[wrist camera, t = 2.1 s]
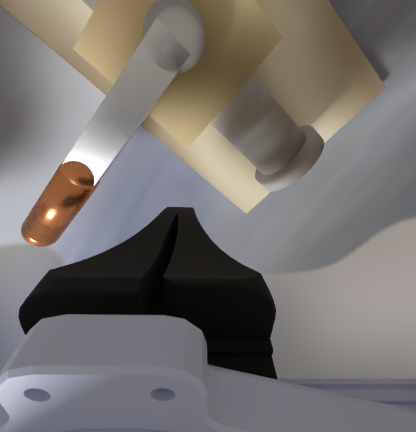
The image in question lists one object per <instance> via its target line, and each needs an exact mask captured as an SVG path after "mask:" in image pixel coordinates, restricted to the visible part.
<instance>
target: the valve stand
mask: <svg viewBox="0 0 416 432" xmlns="http://www.w3.org/2000/svg"><path fill="white" fill-rule="evenodd" d="M156 1H158V0H0V5H1V6H2V7H3V8H4V9H5V10H6V11H8V12H9V13H10V14H11V15H12V16H14V17H15V18H16V19H17V20H18V21H19V22H21V23H22V24H23V25H24V26H25V27H27V28H28V29H29V30H30V31H31V32H32V33H34V34H35V35H36V36H37V37H38V38H40V39H41V40H42V41H43V42H44V43H45V44H47V45H48V46H49V47H50V48H51V49H52V50H54V51H55V52H56V53H57V54H58V55H60V56H61V57H62V58H63V59H64V60H65V61H67V62H68V63H69V64H70V65H71V66H73V67H74V68H75V69H76V70H77V71H78V72H80V73H81V74H82V75H83V76H84V77H86V78H87V79H88V80H89V81H90V82H91V83H93V84H94V85H95V86H96V87H97V88H98V89H100V90H101V91H102V92H103V93H104V94H106V95H107V94H108V92H109V91H110V89H111V88H112V86H113V85H114V83H115V82H116V80H117V79H118V77H119V75H120V74H121V72H122V71H123V69H124V68H125V66H126V65H127V63H128V61H129V60H130V58H131V57H132V55H133V54H134V52H135V51H136V49H137V48H138V46H139V44H140V43H141V41H142V40H143V23H144V19H145V16H146V14H147V12H148V10H149V9H150V7H151V6H152V5H153V4H154V3H155V2H156ZM186 1H188V2H189V3H191V4H192V5H193V6H194V7H195V9H196V10H197V11H198V13H199V15H200V17H201V19H202V21H203V24H204V29H205V46H204V51H203V54H202V57H201V59H200V60H199V62H198V63H197V64H196V66H194V67H193V68H192V69H191V70H189V71H187V72H184V73H179V74H178V75H177V76H176V78H175V79H174V80H173V82H172V83H171V85H170V86H169V87H168V89H167V90H166V91H165V93H164V94H163V95H162V97H161V98H160V99H159V101H158V102H157V103H156V105H155V106H154V108H153V109H152V110H151V112H150V113H149V114H148V116H147V117H146V118H145V120H144V121H143V122H142V124H141V125H142V126H143V127H144V128H146V129H147V130H148V131H149V132H150V133H152V134H153V135H154V136H155V137H156V138H157V139H159V140H160V141H161V142H162V143H163V144H165V145H166V146H167V147H168V148H169V149H170V150H172V151H173V152H174V153H175V154H176V155H177V156H179V157H180V158H181V159H182V160H183V161H185V162H186V163H187V164H188V165H189V166H190V167H192V168H193V169H194V170H195V171H196V172H198V173H199V174H200V175H201V176H202V177H203V178H205V179H206V180H207V181H208V182H209V183H211V184H212V185H213V186H214V187H215V188H216V189H218V190H219V191H220V192H221V193H222V194H223V195H225V196H226V197H227V198H228V199H229V200H231V201H232V202H233V203H234V204H235V205H236V206H238V207H239V208H240V209H241V210H242V211H244V212H245V213H246V214H247V213H248V212H249V211H250V210H251V209H252V208H253V207H255V206H256V205H257V204H258V203H259V202H260V201H261V200H262V199H263V198H264V197H266V196H267V195H268V194H269V193H270V192H271V191H277V190H280V189H283V188H285V187H287V186H289V185H291V184H293V183H294V182H296V181H297V180H298V179H300V178H301V177H302V176H303V175H304V174H306V173H307V172H308V171H309V170H310V169H311V167H312V166H313V165H314V164H315V163H316V161H317V160H318V158H319V157H320V155H321V153H322V151H323V148H324V143H325V142H326V141H327V140H328V139H329V138H330V137H332V136H333V135H334V134H335V133H336V132H337V131H338V130H339V129H340V128H341V127H343V126H344V125H345V124H346V123H347V122H348V121H349V120H350V119H351V118H352V117H354V116H355V115H356V114H357V113H358V112H359V111H360V110H361V109H362V108H363V107H365V106H366V105H367V104H368V103H369V102H370V101H371V100H372V99H373V98H374V97H376V96H377V95H378V94H379V93H380V92H381V91H382V90H383V89H384V88H385V87H386V86H385V85H384V83H383V82H382V80H381V79H380V77H379V76H378V74H377V73H376V71H375V69H374V68H373V66H372V65H371V63H370V62H369V60H368V59H367V57H366V56H365V54H364V53H363V51H362V50H361V48H360V47H359V45H358V44H357V42H356V40H355V39H354V37H353V36H352V34H351V33H350V31H349V30H348V28H347V27H346V25H345V24H344V22H343V21H342V19H341V18H340V16H339V15H338V13H337V11H336V10H335V8H334V7H333V5H332V4H331V2H330V1H329V0H186Z"/></svg>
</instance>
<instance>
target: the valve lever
mask: <svg viewBox="0 0 416 432" xmlns="http://www.w3.org/2000/svg"><path fill="white" fill-rule="evenodd" d="M204 46H205V29H204V24H203V21H202V19H201V17H200V15H199V13H198V11H197V10H196V9H195V7H194V6H193V5H192V4H191V3H189V2H188V1H186V0H158V1H156V2H155V3H154V4H153V5H152V6H151V7H150V9H149V10H148V12H147V14H146V16H145V19H144V23H143V40H142V41H141V43H140V44H139V46H138V48H137V49H136V51H135V52H134V54H133V55H132V57H131V58H130V60H129V61H128V63H127V65H126V66H125V68H124V69H123V71H122V72H121V74H120V75H119V77H118V79H117V80H116V82H115V83H114V85H113V86H112V88H111V89H110V91H109V92H108V94H107V96H106V97H105V99H104V100H103V102H102V103H101V105H100V106H99V108H98V110H97V111H96V113H95V114H94V116H93V117H92V119H91V120H90V122H89V123H88V125H87V127H86V128H85V130H84V131H83V133H82V134H81V136H80V137H79V139H78V141H77V142H76V144H75V145H74V147H73V148H72V150H71V151H70V153H69V154H68V156H67V158H66V159H65V160H64V161H63V162H62V163H61V165H60V166H59V168H58V169H57V171H56V172H55V174H54V176H53V177H52V179H51V180H50V182H49V183H48V185H47V186H46V188H45V190H44V191H43V193H42V194H41V196H40V197H39V199H38V200H37V202H36V204H35V205H34V207H33V208H32V210H31V211H30V213H29V214H28V216H27V218H26V219H25V221H24V222H23V224H22V227H21V233H22V236H23V238H24V240H25V241H26V242H27V243H29V244H31V245H33V246H37V247H45V246H49V245H51V244H53V243H55V242H56V241H57V240H58V239H59V238H60V236H61V235H62V233H63V232H64V231H65V229H66V228H67V227H68V225H69V224H70V223H71V221H72V220H73V219H74V217H75V216H76V215H77V213H78V212H79V211H80V209H81V208H82V207H83V205H84V204H85V203H86V201H87V200H88V199H89V197H90V196H91V194H92V193H93V192H94V190H95V189H96V188H97V186H98V185H99V183H100V179H101V178H102V176H103V175H104V174H105V172H106V171H107V170H108V168H109V167H110V166H111V164H112V163H113V162H114V160H115V159H116V158H117V156H118V155H119V153H120V152H121V151H122V149H123V148H124V147H125V145H126V144H127V143H128V141H129V140H130V139H131V137H132V136H133V135H134V133H135V132H136V130H137V129H138V128H139V126H140V125H141V124H142V122H143V121H144V120H145V118H146V117H147V116H148V114H149V113H150V112H151V110H152V109H153V108H154V106H155V105H156V103H157V102H158V101H159V99H160V98H161V97H162V95H163V94H164V93H165V91H166V90H167V89H168V87H169V86H170V85H171V83H172V82H173V80H174V79H175V78H176V76H177V75H178V74H179V73H184V72H187V71H189V70H191V69H192V68H193V67H194V66H196V64H197V63H198V62H199V60H200V59H201V57H202V54H203V51H204Z"/></svg>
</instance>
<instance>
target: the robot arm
mask: <svg viewBox="0 0 416 432" xmlns="http://www.w3.org/2000/svg"><path fill="white" fill-rule="evenodd" d="M275 314H276V308H275V304H274V301H273V298H272V295H271V293H270V291H269V289H268V287H267V285H266V283H265V281H264V279H263V277H262V275H261V274H260V273H259V272H257V271H255V270H253V269H250V268H248V267H246V266H244V265H242V264H241V263H239V262H237V261H236V260H234V259H233V258H231V257H230V256H228V255H227V254H226V253H225V252H223V251H222V250H221V249H220V248H219V247H217V245H216V244H215V243H214V242H213V241H212V240H211V239H210V238H209V236H208V235H207V234H206V232H205V231H204V229H203V228H202V226H201V224H200V223H199V221H198V219H197V217H196V214H195V211H194V209H193V208H189V207H167V208H165V209H164V210H163V211H162V212H161V213H160V214H159V215H158V216H157V217H156V218H155V219H154V220H153V221H152V222H151V223H149V224H148V225H147V226H146V227H145V228H143V229H142V230H141V231H140V232H138V233H137V234H135V235H134V236H132V237H131V238H129V239H128V240H126V241H124V242H123V243H121V244H119V245H117V246H115V247H113V248H111V249H109V250H107V251H105V252H103V253H100V254H98V255H95V256H93V257H90V258H88V259H85V260H82V261H79V262H76V263H73V264H69V265H66V266H62V267H59V268H56V269H52V270H49V271H48V273H47V274H46V275H45V276H44V277H43V279H42V280H41V281H40V282H39V283H38V285H37V286H36V287H35V288H34V290H33V291H32V292H31V293H30V295H29V296H28V297H27V298H26V300H25V301H24V303H23V304H22V306H21V307H20V310H19V320H20V324H21V327H22V329H23V331H24V333H25V335H26V336H25V338H24V339H23V340H22V342H21V344H20V345H19V346H18V348H17V349H16V351H15V352H14V354H13V355H12V356H11V358H10V359H9V361H8V362H7V364H6V365H5V367H4V368H3V370H2V371H1V372H0V432H416V379H277V375H276V372H275V368H274V363H273V359H272V356H271V355H272V354H273V348H272V344H271V340H270V337H271V333H272V329H273V324H274V321H275V316H276V315H275Z"/></svg>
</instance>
